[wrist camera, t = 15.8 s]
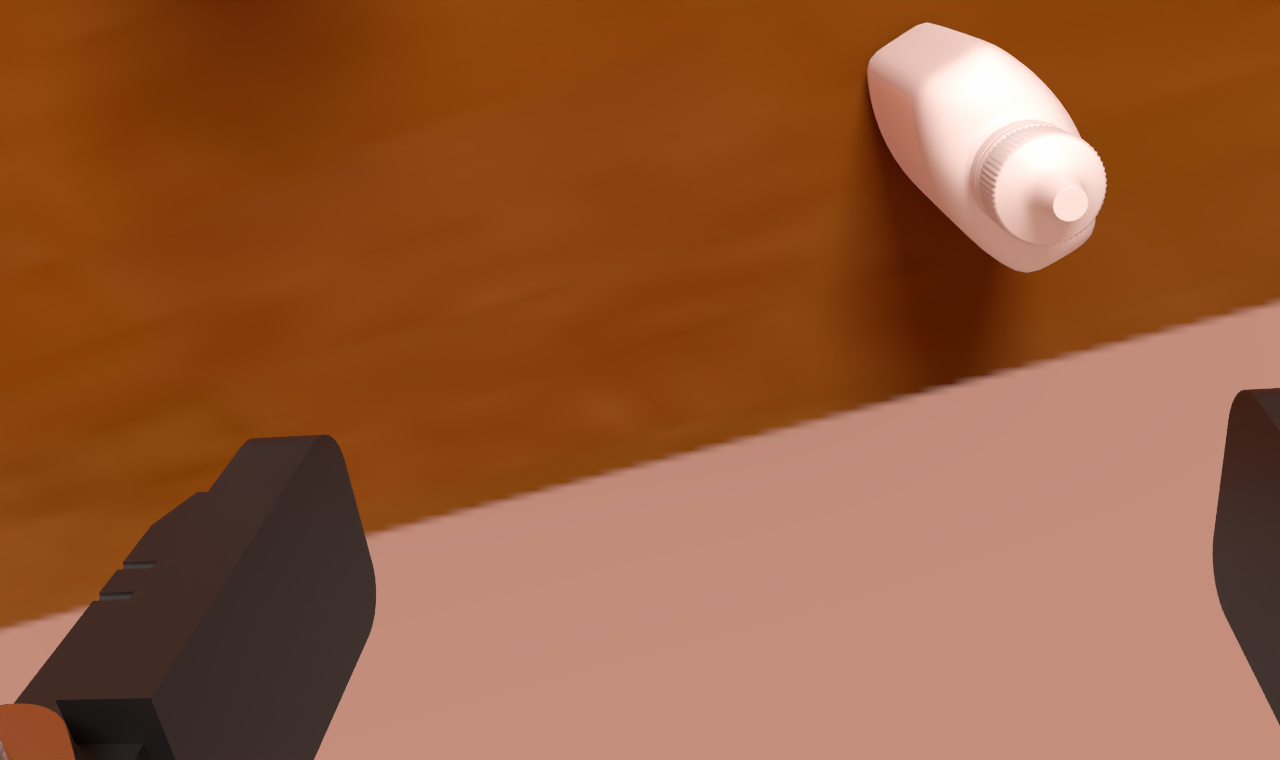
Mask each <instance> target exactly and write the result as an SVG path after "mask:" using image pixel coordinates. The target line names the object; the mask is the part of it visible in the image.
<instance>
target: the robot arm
mask: <svg viewBox="0 0 1280 760" xmlns="http://www.w3.org/2000/svg"><path fill="white" fill-rule="evenodd" d="M123 564H124V567H123V570H117V571H116V572H115V573H114V575H113V576H112V577H111V579H110V580H109V581H108V582H107V584H106V585H105V586H104V588H103V589H102V590H101V592H100V593H99V594H100V599H99V601H93V602H92V603H91V604H90V606H89V607H88V608H87V610H86V611H85V612H84V613H83V615H82V616H81V617H80V619H79V620H78V621H77V623H76V624H75V625H74V626H73V628H72V629H71V630H70V632H69V633H68V634H67V635H66V637H65V638H64V639H63V641H62V642H61V643H60V644H59V646H58V647H57V648H56V650H55V651H54V652H53V654H52V655H51V656H50V657H49V659H48V660H47V661H46V663H45V664H44V665H43V667H42V668H41V669H40V670H39V672H38V673H37V674H36V676H35V677H34V678H33V679H32V681H31V682H30V683H29V685H28V686H27V687H26V688H25V690H24V691H23V692H22V693H21V695H20V696H19V697H18V699H17V700H16V701H15V703H14V704H5V705H0V760H314V758H315V756H316V754H317V751H318V749H319V747H320V745H321V742H322V740H323V738H324V735H325V733H326V731H327V729H328V727H329V724H330V722H331V720H332V718H333V715H334V713H335V711H336V709H337V706H338V704H339V702H340V700H341V697H342V695H343V693H344V691H345V688H346V686H347V684H348V682H349V679H350V677H351V675H352V672H353V670H354V668H355V666H356V663H357V661H358V659H359V657H360V655H361V652H362V650H363V648H364V646H365V643H366V641H367V639H368V637H369V634H370V631H371V628H372V624H373V620H374V615H375V606H376V584H375V575H374V569H373V564H372V561H371V557H370V553H369V549H368V546H367V542H366V538H365V535H364V531H363V527H362V524H361V520H360V516H359V512H358V509H357V505H356V501H355V498H354V494H353V490H352V487H351V483H350V479H349V475H348V472H347V468H346V464H345V461H344V457H343V454H342V452H341V450H340V447H339V445H338V444H337V442H336V441H335V440H334V439H333V438H332V437H331V436H329V435H310V436H290V437H271V438H253V439H250V440H248V441H246V442H245V443H244V444H243V445H242V446H241V448H240V449H239V451H238V452H237V453H236V455H235V456H234V457H233V459H232V460H231V461H230V463H229V464H228V466H227V467H226V468H225V470H224V471H223V472H222V474H221V475H220V476H219V478H218V479H217V480H216V482H215V483H214V485H213V486H212V487H211V489H210V490H209V491H208V492H197V493H196V494H194V495H193V496H192V497H190V498H189V499H187V500H186V501H185V502H183V503H182V504H181V505H179V506H178V507H176V508H175V509H174V510H172V511H171V512H169V513H168V514H167V515H165V516H164V517H163V518H161V519H160V520H158V521H157V522H156V523H154V524H153V525H152V526H151V527H150V528H149V530H148V531H147V532H146V533H145V535H144V536H143V537H142V539H141V540H140V541H139V542H138V544H137V545H136V546H135V548H134V549H133V550H132V552H131V553H130V554H129V555H128V557H127V558H126V559H125V561H124V562H123ZM1213 566H1214V567H1213V568H1214V576H1215V583H1216V588H1217V593H1218V597H1219V600H1220V604H1221V607H1222V610H1223V612H1224V614H1225V616H1226V618H1227V620H1228V622H1229V624H1230V626H1231V628H1232V630H1233V632H1234V634H1235V636H1236V638H1237V640H1238V642H1239V644H1240V646H1241V648H1242V650H1243V652H1244V654H1245V656H1246V658H1247V660H1248V662H1249V664H1250V667H1251V669H1252V671H1253V672H1254V675H1255V677H1256V678H1257V681H1258V683H1259V685H1260V687H1261V688H1262V691H1263V693H1264V694H1265V697H1266V699H1267V700H1268V702H1269V704H1270V707H1271V708H1272V710H1273V713H1274V714H1275V716H1276V719H1277V721H1278V722H1279V725H1280V388H1273V389H1254V390H1243V391H1240V392H1239V393H1238V394H1237V395H1236V397H1235V399H1234V401H1233V403H1232V406H1231V410H1230V414H1229V420H1228V428H1227V436H1226V444H1225V452H1224V459H1223V467H1222V475H1221V483H1220V491H1219V499H1218V507H1217V514H1216V522H1215V530H1214V539H1213Z"/></svg>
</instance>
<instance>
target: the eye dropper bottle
mask: <svg viewBox="0 0 1280 760" xmlns="http://www.w3.org/2000/svg"><path fill="white" fill-rule="evenodd" d="M867 77H868V87H869V94H870V98H871V103H872V107H873V111H874V115H875V118H876V121H877V124H878V126H879V129H880V131H881V134H882V136H883V138H884V140H885V142H886V144H887V146H888V148H889V150H890V152H891V153H892V155H893V157H894V158H895V160H896V161H897V163H898V164H899V166H900V167H901V168H902V170H903V171H904V172H905V174H906V175H907V176H908V177H909V178H910V180H911V181H912V182H913V183H914V184H915V185H916V186H917V187H918V188H919V189H920V190H921V191H922V192H923V193H924V194H925V195H926V196H927V197H928V198H929V199H930V200H931V201H932V202H933V203H934V204H935V205H936V206H937V207H938V208H939V209H940V210H941V211H942V212H943V213H944V214H945V215H946V216H947V217H948V218H949V219H950V220H951V221H952V222H953V223H954V224H955V225H957V226H958V227H959V228H960V229H961V230H962V231H963V232H964V233H965V234H966V235H967V236H968V237H969V238H970V239H971V240H972V241H974V242H975V243H976V244H977V245H978V246H979V247H980V248H981V249H983V250H984V251H985V252H986V253H988V254H989V255H990V256H992V257H993V258H995V259H996V260H998V261H999V262H1000V263H1002V264H1004V265H1006V266H1008V267H1010V268H1011V269H1014V270H1016V271H1021V272H1025V273H1028V272H1032V271H1036V270H1040V269H1042V268H1044V267H1046V266H1048V265H1050V264H1052V263H1054V262H1055V261H1057V260H1059V259H1061V258H1062V257H1064V256H1066V255H1067V254H1069V253H1070V252H1072V251H1074V250H1075V249H1076V248H1078V247H1079V246H1081V245H1082V244H1084V242H1085V241H1086V240H1087V239H1088V238H1089V237H1090V236H1091V234H1092V231H1093V228H1094V226H1095V218H1096V215H1098V211H1099V210H1100V209H1101V205H1102V204H1103V203H1104V202H1103V199H1104V198H1105V195H1104V194H1105V193H1106V190H1105V188H1106V186H1107V184H1105V183H1106V180H1107V179H1106V178H1105V176H1106V173H1105V172H1104V170H1105V167H1103V166H1102V165H1103V162H1102V161H1100V157H1099V156H1097V152H1096V151H1094V148H1093V147H1091V146H1090V145H1089V144H1088V143H1086V142H1085V140H1083V139H1081V137H1080V135H1079V133H1078V131H1077V129H1076V127H1075V125H1074V123H1073V121H1072V119H1071V118H1070V116H1069V114H1068V113H1067V111H1066V110H1065V108H1064V107H1063V105H1062V104H1061V103H1060V101H1059V100H1058V99H1057V97H1056V96H1055V95H1054V94H1053V93H1052V91H1051V90H1050V89H1049V88H1048V87H1047V86H1046V85H1045V84H1044V83H1043V82H1042V81H1041V80H1040V79H1039V78H1038V77H1037V76H1036V75H1035V74H1034V73H1033V72H1032V71H1031V70H1030V69H1028V68H1027V67H1026V66H1025V65H1023V64H1022V63H1021V62H1020V61H1018V60H1017V59H1015V58H1014V57H1013V56H1011V55H1010V54H1008V53H1007V52H1006V51H1004V50H1002V49H1000V48H999V47H997V46H995V45H993V44H991V43H989V42H986V41H984V40H981V39H978V38H975V37H972V36H970V35H967V34H964V33H961V32H958V31H955V30H952V29H948V28H945V27H942V26H939V25H935V24H931V23H923V24H920V25H917V26H915V27H913V28H912V29H910V30H908V31H907V32H905V33H904V34H902V35H901V36H899V37H898V38H896V39H895V40H893V41H892V42H890V43H889V44H887V45H886V46H884V47H883V48H881V49H880V50H879V51H877V52H876V53H875V54H874V55H873V57H872V58H871V59H870V61H869V65H868V69H867Z"/></svg>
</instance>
